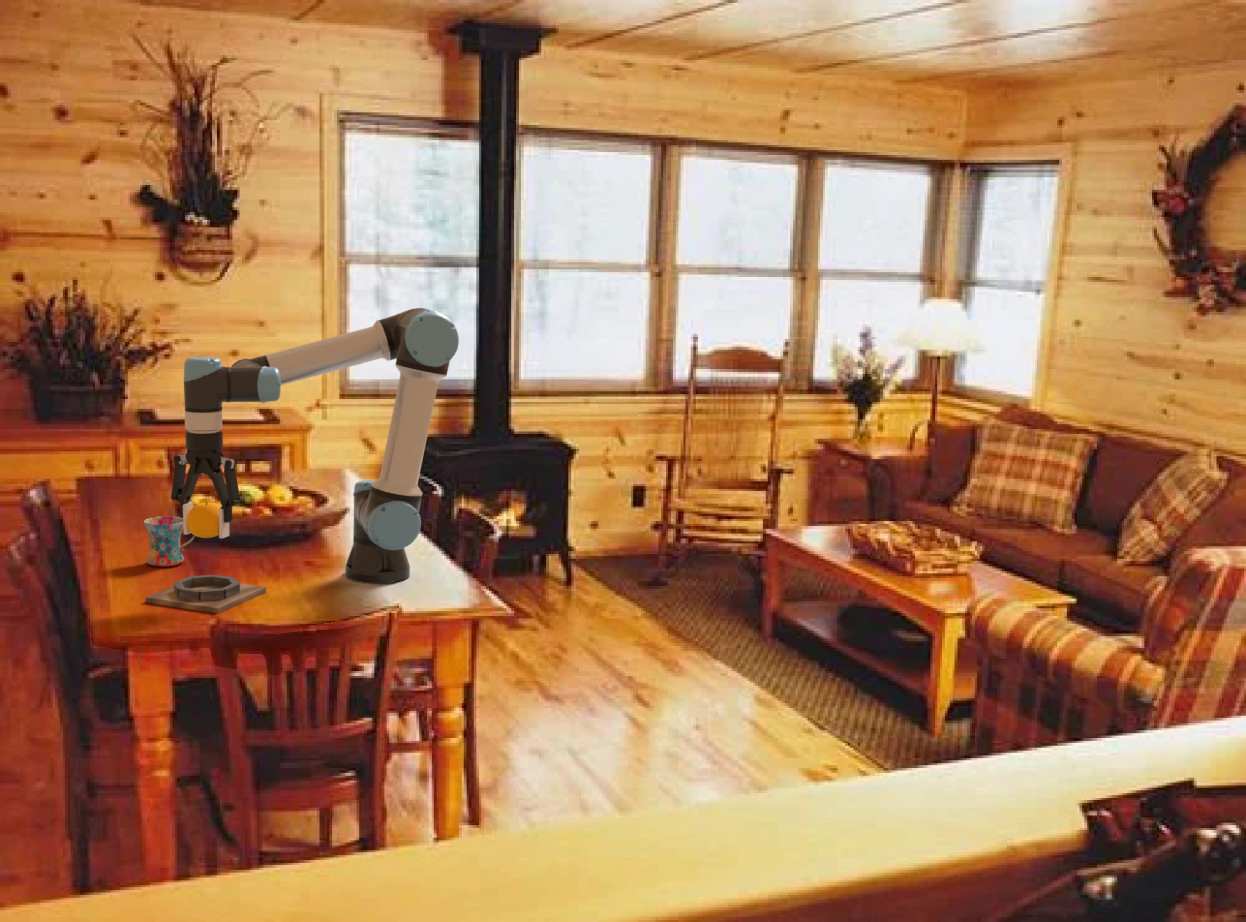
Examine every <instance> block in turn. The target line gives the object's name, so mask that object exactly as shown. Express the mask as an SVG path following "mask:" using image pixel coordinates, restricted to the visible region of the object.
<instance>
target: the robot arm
mask: <svg viewBox="0 0 1246 922" xmlns="http://www.w3.org/2000/svg"><path fill="white" fill-rule="evenodd" d="M459 337H460V336H459V333H458V330H457V328H456V326H455V324H454V323H453V321H452V320H451V319H450V318H449V317H448V316H446V315H445V314H443V313H442V312H439V311H436V310H430V309H429V308H423V307H418V308H417V307H415V308H411V309H407V310H404V311H402V312H399V313H397V314H394V315H391V316H389V317H388V316H387V317H385V318H380V319H377V320H376V321H375V322H374V324H373V325H372V326H369V327H365V328H361V329H358V330H354V331H350V332H346V333H343V334H340V335H335V336H332V337H328V338H324V339H320V340H316V341H312V342H309V343H305V344H302V345H301V344H300V345H297V346H294V347H291V348H286V349H283V350H279V351H276V352H272V353H268V354H265V355H261V356H257V357H252V358H241V359H238V360H236V361H235V362H234V363H232V365H231V366H223V364H222V361H221V359H220V358H219V357H214V356H194V357H188V358H186V360H185V361H184V364H183V392H184V393H183V397H184V429H186V430H187V431H186V432H185V438H184V439H185V448H186V453H185V454H184V453H181V454H177V455H174V456H173V465H174V470H173V478H172V479H173V480H172V487H171V495H170V499H171V500H172V501H175V502H178V504H179V515H180V518H183V528H184V530H183V535H189V534H192V533H191V532H190V530H189V528H188V526H187V516H188V514H189V512H190V510H191V509H192V508H193V507H194V502H193V501H192V499H191V498H192V497H193V493H194V491H195V487H196V486H197V483H198V481H199V480H198V479H199V478H200V476H201V474H203V475H207V476H208V478H209V479H210V480H211V482H212V485H213V487H214V490H215V492H216V495H217V497H218V500H219V501H220V504H221V506H220V508H219V535H218V537H219V539H225V538H227V537H230V535H231V534H230V523H231V522H232V521H233V507H234V506H238V505H240V504H241V503H242V502H241V500H242V499H241V497H240V496H241V495H240V490H239V484H238V477H237V472H236V468H237V467H236V466H237V460H236V459H235V458H228V457H225V456H224V454H223V447H224V438H223V436H224V435H223V434H224V433H223V431H222V430H223V403H271V402H277V401H278V400H279V399H280V397H281V386H285V385H287V384H290V383H295V382H298V381H303V380H306V379H310V378H313V377H317V376H322V375H325V374H329V373H332V372H336V371H340V370H342V369H344V370H345V369H347V368H351V367H354V366H358V365H362V364H364V363H365V364H366V363H369V362H373V361H376V360H380V359H383V360H385V361H387V362H389V361H393V360H395V367H396V369H397V370H398V372H399V374H400V376H399V379H398V386H397V390H396V395H395V400H394V404H393V409H392V415H391V420H390V424H389V430H388V435H387V439H386V445H385V449H384V454H383V458H382V465H381V467H380V474H379V477H378V478H377V479H373V480H359V481H357V482H356V483H355V484H354V488H353V489H354V491H353V494H352V496H353V533H352V534H353V540H352V541H353V543H352V546H351V549H350V552H349V555H348V557H347V558H348V559H347V561H346V564H345V569H344V575H345V577H346V579H349V580H351V581H354V582H360V583H366V584H367V583H368V584H386V583H388V584H389V583H390V584H391V583H395V582H401V581H404V580H406V579H408V578H410V576H411V567H410V562H409V559H408V556H407V552H406V549H405V548H406V547H408V546H410V545H411V544H413V543H414V542H415V540H416V539H417V538H418V536H419V534H420V531H421V527H422V519H421V515H420V513H419V512H420V508H421V507H420V506H421V504H422V503H421V502H422V498H423V492H422V490H421V489H420V487H419V485H418V484H419V483H418V482H419V479H420V478H419V477H420V474H421V470H422V469H421V468H422V464H423V458H424V454H425V453H424V452H425V449H426V446H427V445H426V443H427V441H428V440H427V439H428V435H429V429H430V425H431V420H432V415H433V410H434V406H435V400H436V397H437V391H438V386H439V382H440V381H442V380H443V379H445V378H446V377H447V375H448V371H449V366H450V363H451V362H450V361H451V360H452V359H453V357H455V355H456V353H457V351H458V349H459V342H460V340H459ZM187 463H188V465H189V468H188V471H187ZM221 466H222V468H221ZM222 469H223V470H222ZM186 472H187V473H186ZM186 474H187V476H186ZM223 475H224V477H223ZM191 501H192V502H191Z"/></svg>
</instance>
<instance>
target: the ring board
mask: <svg viewBox="0 0 1246 922" xmlns="http://www.w3.org/2000/svg"><path fill="white" fill-rule="evenodd" d="M264 594H267V587H266V586H262V585H253V584H246V583H242V582H241V583H240V582H239V581H238V579H237V578H236V577H233V576H226V575H219V574H205V575H203V574H202V575H193V576H191V575H190V576H186V577H184V578H182V579H178V580H177V581H174V582H173V586H171V587H168V588H164V589H163V590H161V591H158V592H154V593H152V594H149V595H147V596H145V598H144V599H145V600H144V602H145V603H146V604H152V605H160V606H164V607H165V606H166V607H174V608H178V609H184V610H192V611H198V612H206V613H211V614H212V613H213V614H218V615H219V614H220V613H222V612H225V611H227V610H230V609H232V608H234V607H237V606H238V605H241V604H243V603H245V602H248V601H250V600H252V599H254V598H257V597H259V596H261V595H264Z"/></svg>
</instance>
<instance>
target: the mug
mask: <svg viewBox="0 0 1246 922" xmlns="http://www.w3.org/2000/svg"><path fill="white" fill-rule="evenodd" d="M143 524H144V526H145V528H146V531H147V533H148V537H149V552H148V556H147V558H146V563H147V564H148V565H151V566H154V567H173V566H177V565H180V564H181V563H183V562H184V560H185V558H184V556H183V554H182V551H183V552H184V551H185V549H184V548H183V547H185V546H187V545H189V544H190V543H192V541H193V540H194V539H195V537H196V536H195V535H193V534H192V537H191V538H190V539H189V540H188V541H187V542H185V543H184V544H182V545H181V537H182V534H184V528H183V518H181V516H180V517H179V516H171V515H170V516H154V517H149V518H147V519H144V521H143Z"/></svg>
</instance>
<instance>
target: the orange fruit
mask: <svg viewBox="0 0 1246 922" xmlns="http://www.w3.org/2000/svg"><path fill="white" fill-rule="evenodd" d="M220 507H221V506H220V505H218V504H217V503H215V502H208V501H206V502H199V503H197V504H196V505H193V508H192V509H191V510H190V512H189V514H188V516H187V526H188V528H189V530H190V532H191V533H190V534H192V536H193V535H195V537H197V538H202V539H207V538H208V539H209V538H214V537H217V536H219V508H220Z"/></svg>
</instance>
